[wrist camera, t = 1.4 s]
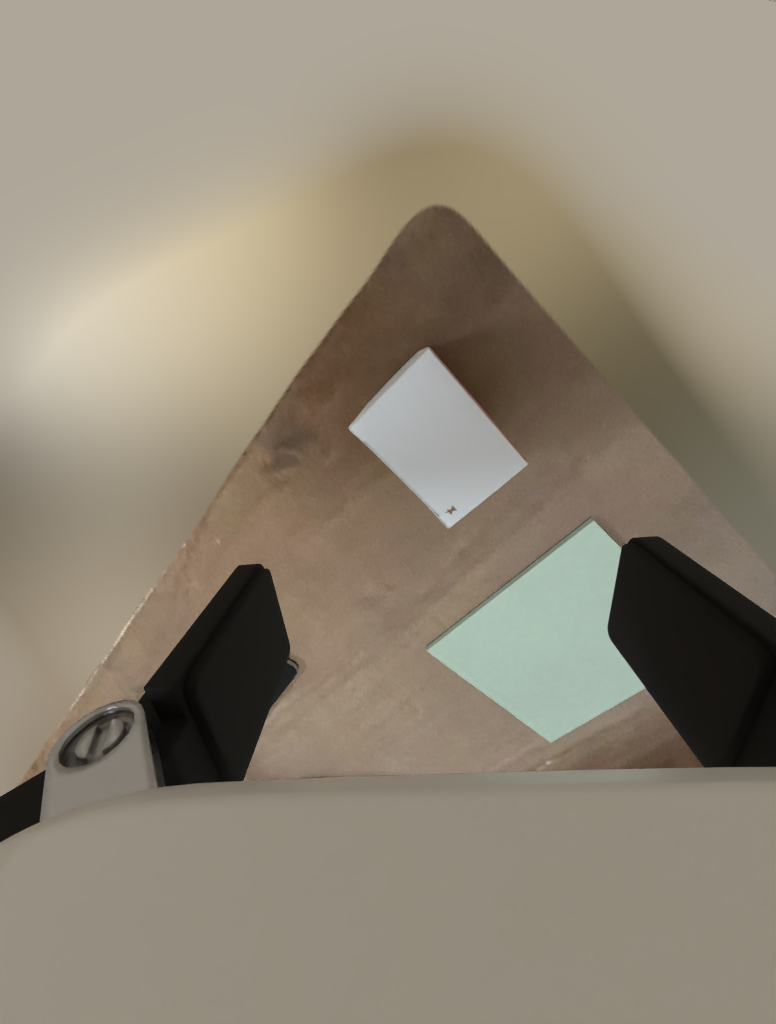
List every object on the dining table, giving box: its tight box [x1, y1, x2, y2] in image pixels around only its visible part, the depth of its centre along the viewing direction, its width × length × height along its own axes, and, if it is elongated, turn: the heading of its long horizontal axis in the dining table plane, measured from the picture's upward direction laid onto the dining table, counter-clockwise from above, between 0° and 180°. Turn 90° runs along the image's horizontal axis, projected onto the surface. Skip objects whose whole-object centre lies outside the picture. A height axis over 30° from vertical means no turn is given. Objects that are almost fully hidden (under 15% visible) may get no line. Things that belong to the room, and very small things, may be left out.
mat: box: [426, 518, 645, 743], centre depth 36 cm, size 20×20×1 cm
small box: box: [349, 347, 528, 528], centre depth 23 cm, size 8×6×10 cm
